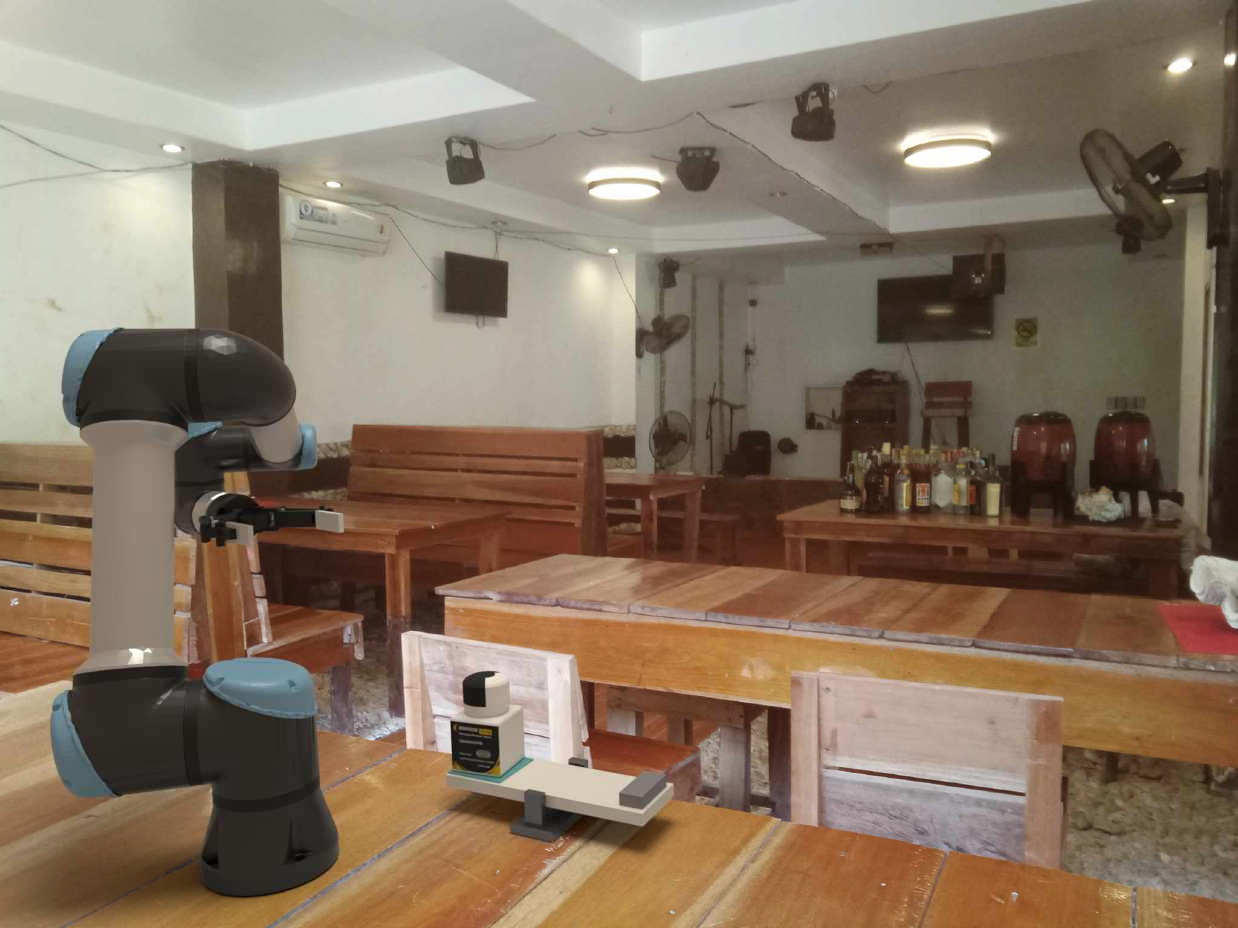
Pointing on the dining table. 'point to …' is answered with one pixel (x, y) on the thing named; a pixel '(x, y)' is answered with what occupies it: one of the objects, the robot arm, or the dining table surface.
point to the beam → (576, 789)
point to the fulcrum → (545, 814)
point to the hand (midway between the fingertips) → (297, 529)
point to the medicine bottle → (487, 727)
